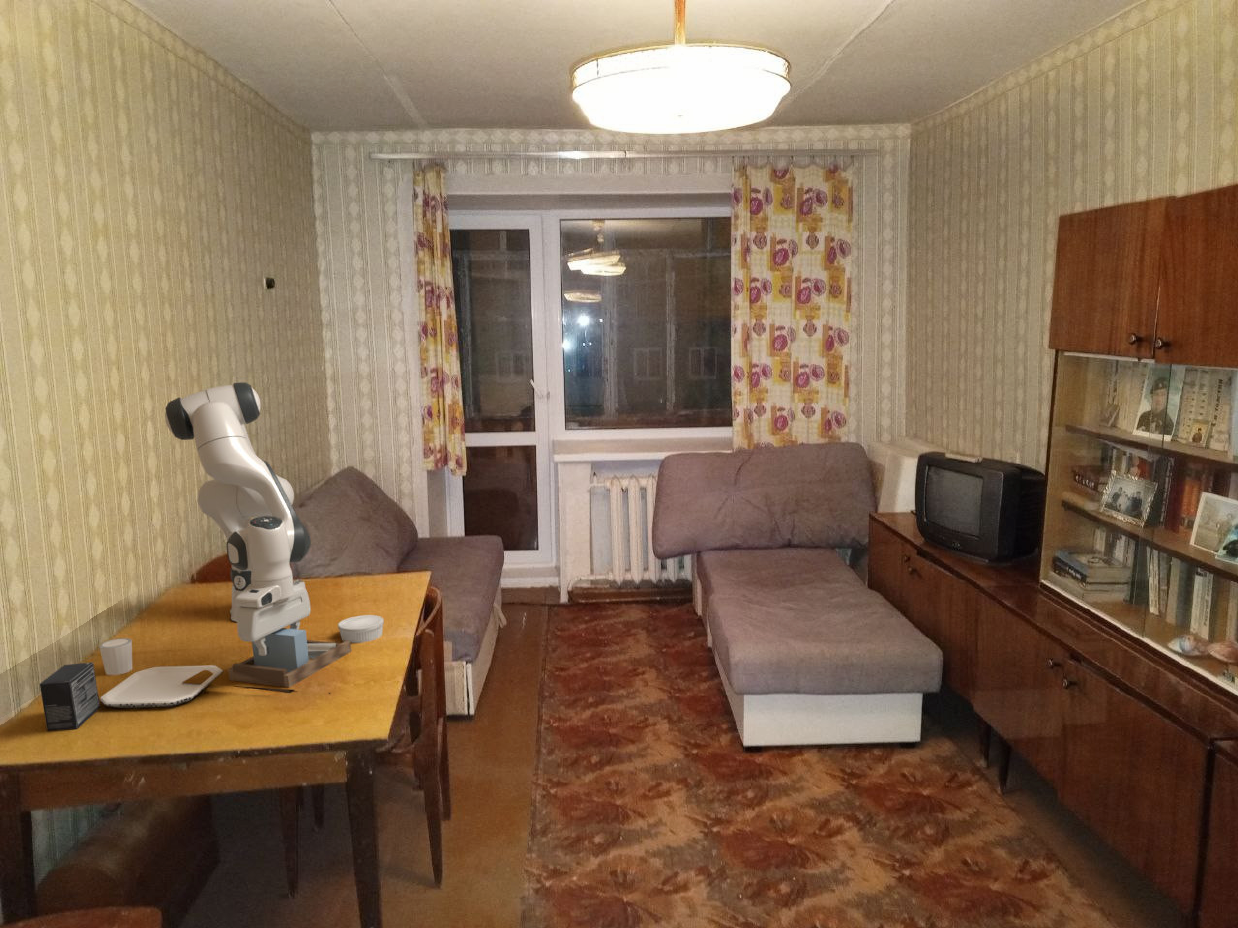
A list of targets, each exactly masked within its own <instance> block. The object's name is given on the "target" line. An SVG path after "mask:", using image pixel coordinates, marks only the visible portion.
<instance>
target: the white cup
mask: <svg viewBox="0 0 1238 928" xmlns="http://www.w3.org/2000/svg"><path fill="white" fill-rule="evenodd" d="M98 647H99V652H100V655H101V660H102V663H103V664H102V665H103V668H104V673H105V674H106V676H118V675H122V674H127V673H128V672H130V671H132V670H133V641H132V639H131V638H127V637H126V638H125V637H121V638H113V639H110V640H106V641H103V642H101V643H99V645H98Z"/></svg>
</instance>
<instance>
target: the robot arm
mask: <svg viewBox="0 0 1238 928" xmlns="http://www.w3.org/2000/svg"><path fill="white" fill-rule="evenodd" d="M261 406H262V405H261V399H260V396H259V394H258V392H257V391H256V389H254V388H253V387H252V385H251V384H249V383H248V382H242V381H241V382H234V383H233V384H225V385H219V386H215V387H209V388H206V389H204V390H200V391H198V392H194V393H191V394H188V395H186V396H184V397H177V398H175V399H173V400H170V401H169V402H168V403H167V405H166V406H165V414H164V418H165V419H164V420H165V425H166V427H167V428H168V430H169V431H170V433H171V434H172V435H174V438H176V439H179V440H183V441H188V440H189V441H190V440H192V441H193V440H194V441H195V442H194V443H195V447H196V451H197V453H198V457H199V460H200V464H201V466H202V467H203V470H204V471H205V473H206V474H207V475H208V476H209V477H211V478H212V479H211V480H208V481H205V482H204V483H203V484H201V486H200V488H199V490H198V492H197V503H198V507H199V508H200V511H202V513H203V514H205V515H206V516H207V517H209V518H211V519H212V520H213V521H214V522H215V523H216V524H217V525H218V526H219V527H220V529H221V531H222V532H223V534H224V535H225V537H226V555H227V560H228V563H229V564H230V565H231V568H230V579H231V583H232V585H231V608H230V610H229V613H230V619H231V621H233V622H236V625H237V627H236V629H237V635H238V638H239V639H240V640H241V641H242V642H249V643H252V642H254V644H255V645H256V646H257V648H258V650H259V655H260V656H265V655H267V654H269V653H270V651H269V646H266V645H265V644H264V642H263V641H265V636H267V635H269V634H271V633H273V632H275V631H278V630H280V629H282V628H287V627H288V626H289V629H298V630H300V626H301V620H303V619H305V618H307V617H309V616H310V613H311V612H312V611H311V610H312V609H311V608H312V607H311V603H310V602H311V600H310V598H309V593H308V591H307V589H306V583H305V581H303V580H302V579H300V578H296V579H294V577H293V571H292V568H291V565H290V564H293V563H294V564H295V563H299V562H301V561H302V560H303V559H304V558H305V557H306V555H307V554H308V552H309V551H310V549H311V545H312V544H311V536H310V533H309V531H308V529H307V528H306V525H305V524H304V523H303V521H302V520H301V519H300V518H299V516H298V514H297V513H296V511H295V509H294V507H293V503H294V501H295V493H294V488H293V487H292V485H291V483H290V482H289V480H287V479H286V478H283V477H281V476H279V475H277V474H276V473H275V470H274V469H273V468H272V466H271V465H270V463H269V462H267V461H265V460H263V459H261V458H260V457H258V456H257V454H256V452H255V450H254V447H253V445H252V443H251V440H250V437H249V435H248V431H247V429H246V426H245V424H246V425H249V424H250V423H253V422H255V421H256V420H258V418H259V417H260V415H261V408H262V407H261Z"/></svg>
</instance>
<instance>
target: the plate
mask: <svg viewBox="0 0 1238 928" xmlns="http://www.w3.org/2000/svg"><path fill="white" fill-rule="evenodd" d="M203 671H208V672H209V673H212V675H210V676H209V677H208V678H207V679H206V680H205V681H203V682H202V683H193V682H192V683H191V682H185V681H187V680H189V679H190V678H192V677H194V676H195V675H197V674H199V673H200V672H203ZM223 672H224V671H223V670H222V668H220V667H218V666H216V665H215V664H214V665H211V664H210V665H182V666H181V665H176V666H153V667H151V668H146V669H143V670H138V671H136V672H134V673H133V674H131V675H130V676H128V677H127V678H126V679H124V680H123V681H121V682H120V683H118V684H117V685H116V686H114V687H113V688H111V689H110V690H108V691H107V692H106V693H104V694H103V695H102V696H100V697H99V702H101V703H102V704H103V705H104V706H106V707H107V706H108V707H110V708H111V707H112V708H115V709H117V708H118V709H122V708H123V709H124V708H127V709H128V708H132V709H133V708H163V707H164V708H167V707H169V708H170V707H174V706H177V705H181V704H185V703H187V702H190V701H191V700H193V699H194V698H195V697H196V696H198V695H199V693H201V692H202V691H203V690H204V689H205V688H207V687H209V685H210V684H211V683H212V682H213V681H215V679H216V678H218V677H219V676H220V675H221V674H222V673H223Z"/></svg>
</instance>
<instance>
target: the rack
mask: <svg viewBox="0 0 1238 928" xmlns="http://www.w3.org/2000/svg"><path fill="white" fill-rule="evenodd" d="M309 643H334V642H331V641H320V640H310V639H307V644H309ZM335 643H336V647H334V648H332V649H330V650H329V651H327V652H325V653H323V654H321V655H320V656H318V657H316V658H314V659H310V660H309V662H307V663H305V664H303V665H302V666H300V667H298V668H296V669H294V670H293V671H291V672H289V673H287V669H281V668H273V667H264V666H255V665H254V656H251V657H250V658H247V659H245V660H243V661H242V662H241V661H240V662H239V663H234V664H231V667H230V668H228V670H227V671H228V678H229V681H233V682H240V683H241V682H242V683H251V684H256V685H258V684H259V685H265V686H275V687H281V688H270V687H269V688H268V687H258V686H257V687H253V686H252V687H251V686H239V685H237V686H236V685H234V687H237V688H242V689H243V688H244V689H252V690H259V691H260V690H261V691H267V692H268V691H269V692H276V693H284V694H292V693H293V692H295V691H296V689H288V688H291V687H293V686H295V685H296V684H298V683H300V682H301V681H303V680H304V679H306V678H308V677H310V676H312V675H314V674H316V673H317V672H319V671H321V670H323V668H325V667H327V666H329V665H331V664H332V663H334V662H336V661H338V660H340V659H341V658H343V657H344V656H346V655H348V654H350V653H352V643H351V642H350V641H343V642H342V643H341V642H335ZM282 687H284V688H285V689H284V688H282Z"/></svg>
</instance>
